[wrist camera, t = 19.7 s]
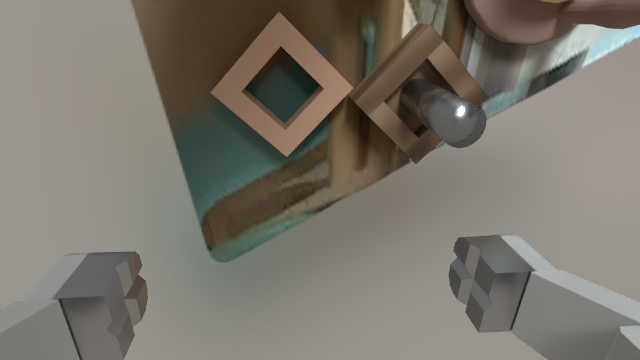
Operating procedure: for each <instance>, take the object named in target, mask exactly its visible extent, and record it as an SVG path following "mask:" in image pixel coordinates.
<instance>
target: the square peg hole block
mask: <svg viewBox="0 0 640 360" xmlns="http://www.w3.org/2000/svg"><path fill="white" fill-rule="evenodd" d="M416 78H421V79H425V80H427V81H429V82H431V83H433V84H435V85H437V86H439V87H441V88H443V89H445V90H447V91H449V92H451V93H453V94H455V95H457V96H459V97H461V98H463V99H465V100H467V101H469V102H471V103H473V104H475V105H477V106H480V105H481V104H482V103H483V102H484V101H485V100H486V99H487V98H488V96H487V95H486V94H485V92H484V91H483V90H482V89H481V87H480V86H479V85H478V84H477V82H476V81H475V80H474V78H473V77H472V76H471V75H470V73H469V72H468V71H467V70H466V68H465V67H464V66H463V64H462V63H461V62H460V61H459V59H458V58H457V57H456V56H455V54H454V53H453V52H452V51H451V49H450V48H449V47H448V45H447V44H446V43H445V42H444V40H443V39H442V38H441V37H440V35H439V34H438V33H437V31H436V30H435V29H434V28H433V26H432V25H431V24H416V25H415V26H414V27H413V29H412V30H411V31H410V32H409V33H408V34H407V35H406V36H405V37H404V38H403V39H402V40H401V41H400V42H399V43H398V44H397V45H396V46H395V47H394V48H393V49H392V50H391V51H390V52H389V53H388V54H387V56H386V57H385V58H384V59H383V60H382V61H381V62H380V63H379V64H378V65H377V66H376V67H375V68H374V69H373V70H372V71H371V72H370V73H369V74H368V75H367V76H366V77H365V78H364V79H363V80H362V81H361V83H360V84H359V85H358V86H357V87H356V88H355V89H354V90H353V91H352V92H351V93H350V94H349V95H348V96H349V97H350V98H351V99H352V100H353V101H354V102H355V103H356V104H357V105H358V106H359V107H360V108H361V109H362V110H363V111H364V112H365V113H366V114H367V115H368V116H369V117H370V118H371V119H372V120H373V121H374V122H375V123H376V124H377V125H378V126H379V127H380V128H381V129H382V130H383V131H384V132H385V133H386V134H387V135H388V136H389V137H390V138H391V139H392V140H393V141H394V142H395V143H396V144H397V145H398V146H399V147H400V148H401V149H402V150H403V151H404V152H405V153H406V154H407V155H408V156H409V157H410V158H411V160H412V161H413V162H414V163H416V164H417V163H418V162H419V161H420V160H421V159H422V158H423V157H424V156H425V155H426V154H427V153H429V152H430V151H431V150H432V149H433V148H434V147H435V146H436V145H437V144H438V143H439V142H441V141H442V139H441V138H440V137H438V136H437V135H436V134H435V133H434V132H432V131H431V130H430V129H429V128H427V127H426V126H425V125H424V124H422V123H421V122H420V121H419V120H417V119H416V118H415V117H414V116H412V115H411V114H410V113H409V112H407V111H406V110H405V109H404V108H403V107H402V105H401V103H400V92H401V90H402V88H403V86H404V85H405V84H406V83H407V82H409V81H410V80H412V79H416Z"/></svg>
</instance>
